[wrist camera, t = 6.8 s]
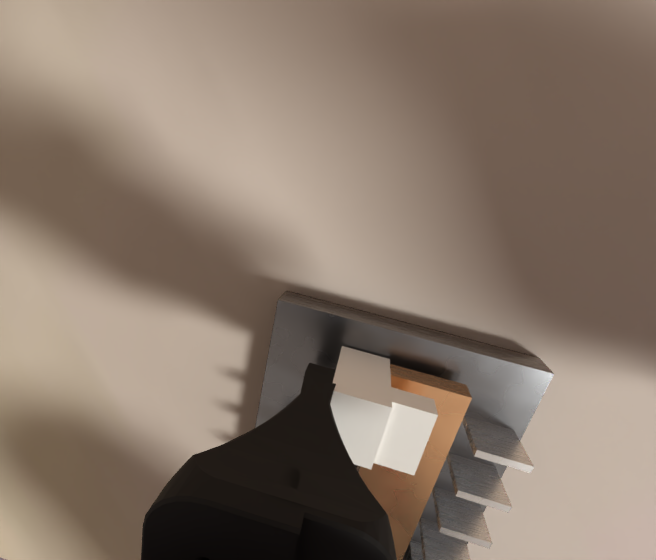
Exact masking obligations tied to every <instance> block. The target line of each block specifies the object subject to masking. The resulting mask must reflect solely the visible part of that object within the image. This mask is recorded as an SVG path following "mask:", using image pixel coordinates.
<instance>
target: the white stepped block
mask: <svg viewBox="0 0 656 560" xmlns="http://www.w3.org/2000/svg"><path fill="white" fill-rule="evenodd" d="M333 383H334V384H336V386H335V389H334V392H333V396H332V399H331V403H330V405H331V409H332V413H333V416H334V419H335V423H336V426H337V428H338V431H339V434H340V436H341V439H342V441H343V443H344V446H345V448H346V450H347V452H348V454H349V456H350V458H351V460H352V462H353V464H355V465H358V466H361V467H364V468H368V469H372V466H373V463H375V464H378V465H382V466H385V467H388V468H391V469H394V470H398V471H401V472H404V473H407V474H410V475H415V472H416V470H417V467H418V465H419V462H420V460H421V457H422V455H423V452H424V449H425V447H426V444H427V442H428V439H429V437H430V434H431V432H432V429H433V427H434V424H435V422H436V419H437V417H438V413H437V409H436V405H435V401H434V399H431V398H428V397H424V396H421V395H417V394H414V393H410V392H407V391H403V390H400V389H396V388H393V387H391V372H390V359H388V358H384V357H380V356H377V355H373V354H370V353H366V352H362V351H359V350H355V349H352V348H348V347H344V346H342V348H341V352H340V356H339V360H338V363H337V367H336V371H335V375H334V379H333Z"/></svg>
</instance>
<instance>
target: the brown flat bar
mask: <svg viewBox="0 0 656 560" xmlns="http://www.w3.org/2000/svg"><path fill="white" fill-rule="evenodd" d="M390 372H391V387H393V388H396V389H400V390H403V391H407V392H410V393H414V394H417V395H421V396H424V397H428V398H431V399H434V401H435V405H436V409H437V413H438V417H437V419H436V422H435V424H434V427H433V429H432V432H431V434H430V437H429V439H428V442H427V444H426V447H425V449H424V452H423V455H422V457H421V460H420V462H419V465H418V467H417V470H416V472H415V475H410V474H407V473H404V472H401V471H398V470H394V469H391V468H388V467H385V466H382V465H378V464H375V463H373V466H372V469H368V468H364V467H361V466H358V465H357V468H356V469H357V471H358V473H359V475H360V476H361V478H362V480H363V481H364V483H365V484H366V486H367V487H368V489H369V490H370V492H371V493H372V494H373V496H374V497H375V498H376V500H377V501H378V502H379V504H380V505H381V506H382V508H383V509H384V510H385V512H386V513H387V515H388V518H389V522H390V526H391V530H392V535H393V540H394V545H395V551H396V557H397V560H406V555H405V552H406V550H407V548H408V545H409V543H410V541H411V538H412V536H413V534H414V531H415V529H416V527H417V524H418V522H419V520H420V517H421V515H422V513H423V511H424V508H425V506H426V504H427V501H428V499H429V497H430V494H431V492H432V490H433V487H434V485H435V483H436V480H437V478H438V476H439V473H440V471H441V469H442V467H443V464H444V462H445V460H446V457H447V455H448V453H449V450H450V448H451V446H452V443H453V441H454V439H455V436H456V434H457V432H458V429H459V427H460V425H461V422H462V420H463V418H464V416H465V413H466V411H467V409H468V406H469V404H470V402H471V399H472V397H471V394H470V392H469V390H468V387H467V385H465V384H461V383H458V382H454V381H451V380H447V379H444V378H440V377H436V376H433V375H429V374H426V373H422V372H418V371H415V370H411V369H408V368H404V367H401V366H397V365H393V364H390Z"/></svg>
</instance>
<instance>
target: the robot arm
mask: <svg viewBox="0 0 656 560" xmlns="http://www.w3.org/2000/svg"><path fill="white" fill-rule="evenodd" d="M335 371H336V370H335V369H331V368H328V367H324V366H320V365H317V364H313V363H309V364H308V366H307V369H306V371H305V375H304V379H303V383H302V388H301V392H300V394H299V395H298V396H297V397H296V398H295V399H294V400H293V401H292V402H291V403H289V404H288V405H287V406H286V407H285V408H284V409H282V410H281V411H280V412H278V413H277V414H276V415H274V416H273V417H272V418H270V419H269V420H267V421H266V422H264V423H263V424H261V425H259V426H258V427H256V428H255V429H253V430H251V431H249V432H247V433H246V434H244V435H241V436H239V437H237V438H235V439H233V440H231V441H229V442H227V443H225V444H223V445H220V446H218V447H215V448H212V449H210V450H207V451H204V452H201V453H198V454H195V455H193V456H192V457H191V458H190V459H189V460H188V461H187V462H186V463H185V464H184V465H183V466H182V467H181V468H180V469H179V471H178V472H177V473H176V474H175V475H174V476H173V477H172V478H171V480H170V481H169V482H168V483H167V485H166V486H165V487H164V489H163V490H162V492H161V493H160V495H159V496H158V498H157V499H156V500H155V502H154V503H153V505H152V506H151V508H150V509H149V511H148V512H147V514H146V515H145V519H144V523H143V533H142V553H141V560H397V557H396V551H395V545H394V540H393V535H392V530H391V526H390V522H389V518H388V515H387V513H386V512H385V510H384V509H383V508H382V506H381V505H380V504H379V502H378V501H377V500H376V498H375V497H374V496H373V494H372V493H371V492H370V490H369V489H368V487H367V486H366V484H365V483H364V481H363V480H362V478H361V476H360V475H359V473H358V471H357V469H356V467H355V465H354V464H353V462H352V460H351V458H350V456H349V454H348V452H347V450H346V448H345V446H344V443H343V441H342V439H341V436H340V434H339V431H338V428H337V426H336V423H335V419H334V416H333V413H332V409H331V405H330V403H331V399H332V396H333V392H334V389H335V386H336V384H334V383H333V379H334V375H335ZM0 560H6V559H3V558H0Z"/></svg>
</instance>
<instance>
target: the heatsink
mask: <svg viewBox="0 0 656 560" xmlns="http://www.w3.org/2000/svg"><path fill="white" fill-rule="evenodd" d="M342 346H344V347H348V348H352V349H355V350H359V351H362V352H366V353H370V354H373V355H377V356H380V357H384V358H388V359H390V364H393V365H397V366H401V367H404V368H408V369H411V370H415V371H418V372H422V373H426V374H429V375H433V376H436V377H440V378H444V379H447V380H451V381H454V382H458V383H461V384H465V385H467V387H468V390H469V392H470V394H471V397H472V399H471V402H470V404H469V406H468V409H467V411H466V413H465V416H464V418H463V420H462V422H461V425H460V427H459V429H458V432H457V434H456V436H455V439H454V441H453V443H452V446H451V448H450V450H449V453H448V455H447V457H446V460H445V462H444V464H443V467H442V469H441V471H440V473H439V476H438V478H437V480H436V483H435V485H434V487H433V490H432V492H431V494H430V497H429V499H428V501H427V504H426V506H425V508H424V511H423V513H422V515H421V517H420V520H419V522H418V524H417V527H416V529H415V531H414V534H413V536H412V538H411V541H410V543H409V545H408V548H407V550H406V552H405V555H406V560H470V556H469V552H468V548H467V544H468V542H470V543H473V544H476V545H479V546H483V547H486V548H489V549H490V547H491V545H492V541H491V538H490V535H489V531H488V528H487V525H486V522H485V518H484V515H483V512H484V510H485V508H486V506H488V507H492V508H495V509H498V510H501V511H504V512H508V513H509V512H510V510H511V508H512V506H511V503H510V501H509V498H508V496H507V493H506V491H505V489H504V486H503V484H502V481H501V477H502V475H503V473H504V471H505V469H506V467H507V466H508V467H511V468H515V469H518V470H521V471H525V472H528V473H531V472H532V470H533V468H534V466H533V464H532V462H531V460H530V458H529V457H528V455H527V453H526V451H525V449H524V447H523V446H522V444H521V442H520V440H521V438H522V436H523V434H524V432H525V430H526V428H527V426H528V424H529V422H530V420H531V418H532V416H533V414H534V412H535V410H536V409H537V407H538V405H539V403H540V401H541V399H542V397H543V395H544V393H545V391H546V389H547V387H548V385H549V383H550V381H551V379H552V377H553V375H554V373H553V372H552V371H551V370H550V369H549V368H548V367H547V366H546V365H545V364H544V363H543V362H542V360H541V359H540V358H538V357H534V356H530V355H526V354H523V353H519V352H515V351H511V350H507V349H504V348H500V347H496V346H492V345H489V344H485V343H481V342H477V341H474V340H470V339H466V338H462V337H459V336H455V335H451V334H447V333H443V332H440V331H436V330H432V329H428V328H425V327H421V326H417V325H413V324H410V323H406V322H402V321H398V320H395V319H391V318H387V317H383V316H379V315H376V314H372V313H368V312H364V311H361V310H357V309H353V308H349V307H346V306H342V305H338V304H334V303H331V302H327V301H323V300H319V299H315V298H312V297H308V296H304V295H300V294H297V293H293V292H289V291H286V292H285V293H284V294H283V295H282V296H281V297H280V298H279V299H278V303H277V309H276V314H275V320H274V325H273V331H272V336H271V342H270V348H269V353H268V359H267V364H266V370H265V375H264V381H263V387H262V392H261V398H260V403H259V409H258V415H257V420H256V426H255V428H256V427H258V426H259V425H261V424H263V423H264V422H266V421H267V420H269V419H270V418H272V417H273V416H274V415H276V414H277V413H278V412H280V411H281V410H282V409H284V408H285V407H286V406H287V405H288V404H289V403H291V402H292V401H293V400H294V399H295V398H296V397H297V396H298V395H299V394H300V392H301V388H302V383H303V379H304V375H305V371H306V369H307V366H308V364H309V363H313V364H317V365H320V366H324V367H328V368H331V369H335V370H336V367H337V363H338V360H339V356H340V352H341V348H342ZM354 465H355V464H354ZM355 467H356V468H357V465H355Z"/></svg>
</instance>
